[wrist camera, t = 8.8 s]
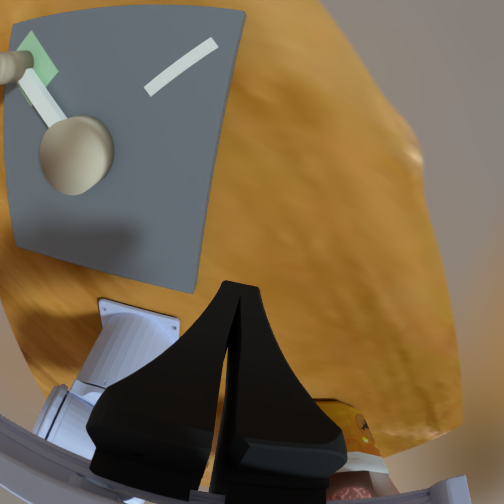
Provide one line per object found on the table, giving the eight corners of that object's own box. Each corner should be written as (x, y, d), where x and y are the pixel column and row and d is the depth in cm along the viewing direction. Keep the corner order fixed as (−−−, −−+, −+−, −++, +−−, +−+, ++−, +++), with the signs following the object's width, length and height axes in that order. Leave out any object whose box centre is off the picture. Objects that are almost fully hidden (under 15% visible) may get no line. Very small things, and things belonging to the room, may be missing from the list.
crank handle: (128, 155, 18) (98, 173, 15) (84, 197, 20) (54, 222, 16) (36, 30, 13) (-1, 30, 10) (2, 80, 15) (-34, 88, 11)
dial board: (196, 284, 25) (192, 294, 24) (22, 239, 24) (15, 246, 23) (246, 15, 14) (244, 10, 13) (22, 24, 13) (12, 24, 12)
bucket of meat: (257, 375, 30) (241, 564, 13) (402, 377, 30) (436, 539, 13) (248, 446, 41) (237, 562, 24) (352, 447, 40) (359, 557, 23)
